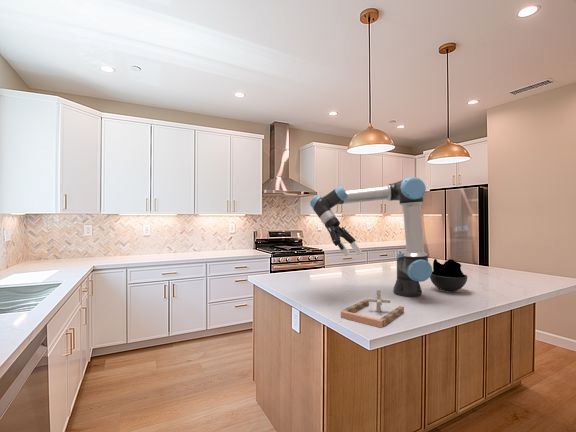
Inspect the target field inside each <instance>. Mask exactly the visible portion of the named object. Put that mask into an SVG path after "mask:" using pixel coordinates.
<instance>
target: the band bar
mask: <svg viewBox="0 0 576 432" xmlns="http://www.w3.org/2000/svg"><path fill="white" fill-rule="evenodd" d="M340 318H342V319H345V320H350V321H354V322H357V323H360V324H365V325H367V326H368V325H370V326H373V327H376V328H382V327H384V326H383V320H381V319H380V318H375V317H371V316H367V315H363V314H358V313H356V312H355V313H351V312H347V311H342V310H341V311H340Z"/></svg>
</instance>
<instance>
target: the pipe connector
mask: <svg viewBox="0 0 576 432" xmlns="http://www.w3.org/2000/svg"><path fill="white" fill-rule="evenodd" d="M381 292H382V291H381V289H379V288H377V289H376V295H375V297H367V299H366V300H367V301H368V302H369V303H376V312H378V313H381V311H382V310H381V309H382V305H383V303H384V304H391V299H390V298H382V296H381V294H382V293H381Z"/></svg>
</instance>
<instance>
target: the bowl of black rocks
mask: <svg viewBox="0 0 576 432" xmlns="http://www.w3.org/2000/svg"><path fill="white" fill-rule="evenodd" d="M461 267H462V264H461V263H460V262H458V261H455V260H454V259H447V260H446V261H444V263H440V261H438V260H437V259H436V258H434V260H433V263H432V274H431V276H430V277H429V280H430V281H431V282H432V284H433V285H434V286H435V287H436V288H437V289H439V290H440V291H443V292H447V291H448V292H451V293H452V292H457V291H459V290H460V289H462V288H463V287H464V286H465V285H466V284H467V281H468V275H467V274H464V273H463V271H462V268H461Z"/></svg>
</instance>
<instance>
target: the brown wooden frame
mask: <svg viewBox="0 0 576 432" xmlns="http://www.w3.org/2000/svg"><path fill="white" fill-rule="evenodd" d="M369 306H370V302H368V301H367V299H363V300H360V301H358V302H357V303H355V304H353V305H351V306H348V307H346V308H344V309H343V310H341V311H347V312H351V313H355V314H356V312H359V311H361V310H362V309H364V308H366V307H369ZM404 313H405V307H404V306H401V305H399V306H398V307H395V309H393V310H391V311H390V312H388V313H387V314H385V315H384V316H382V317H380V318H379V319H381V320H383V327H386V326H388V325H389V324H390V323H391V322H393V321H395V319H397V318H398V317H400V316H401V315H403V314H404Z"/></svg>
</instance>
